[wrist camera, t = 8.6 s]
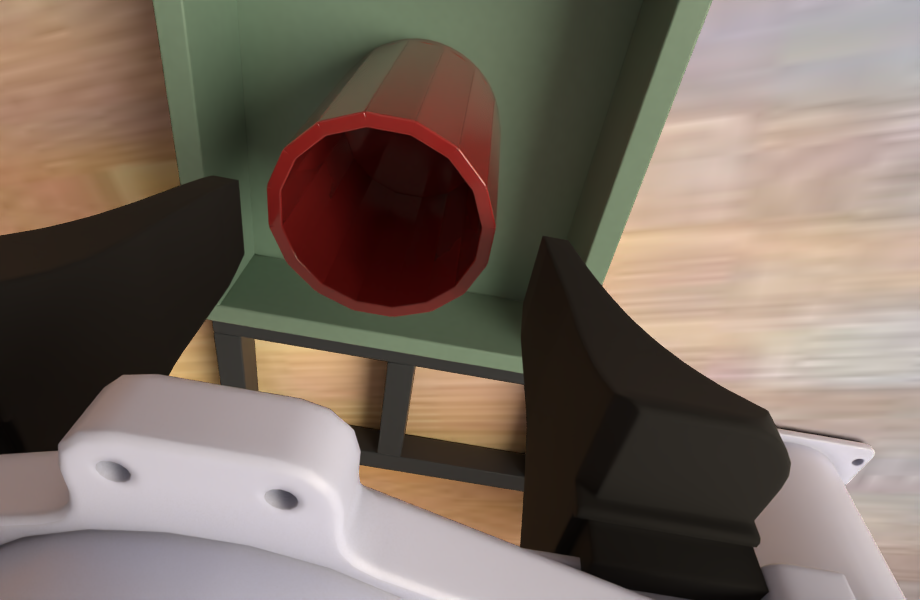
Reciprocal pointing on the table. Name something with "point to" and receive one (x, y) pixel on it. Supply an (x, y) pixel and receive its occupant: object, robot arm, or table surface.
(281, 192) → the cup
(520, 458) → the frame
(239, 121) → the basin
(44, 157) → the table surface
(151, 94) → the table surface
